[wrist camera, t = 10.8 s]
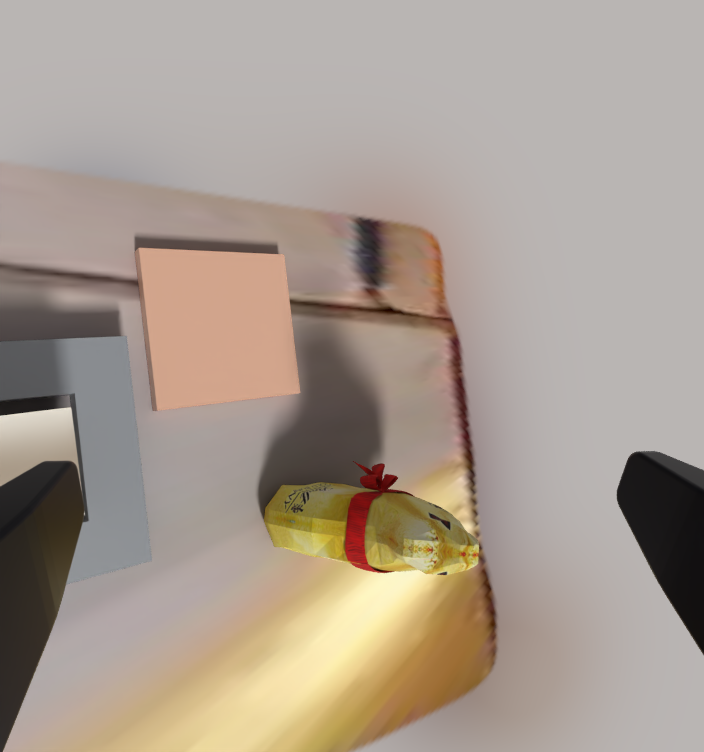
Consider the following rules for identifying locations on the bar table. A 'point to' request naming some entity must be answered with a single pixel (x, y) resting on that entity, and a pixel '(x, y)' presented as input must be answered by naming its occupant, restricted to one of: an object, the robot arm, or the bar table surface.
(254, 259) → the terracotta tile
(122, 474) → the collar
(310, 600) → the bar table surface
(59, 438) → the cream block
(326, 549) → the chocolate bunny
